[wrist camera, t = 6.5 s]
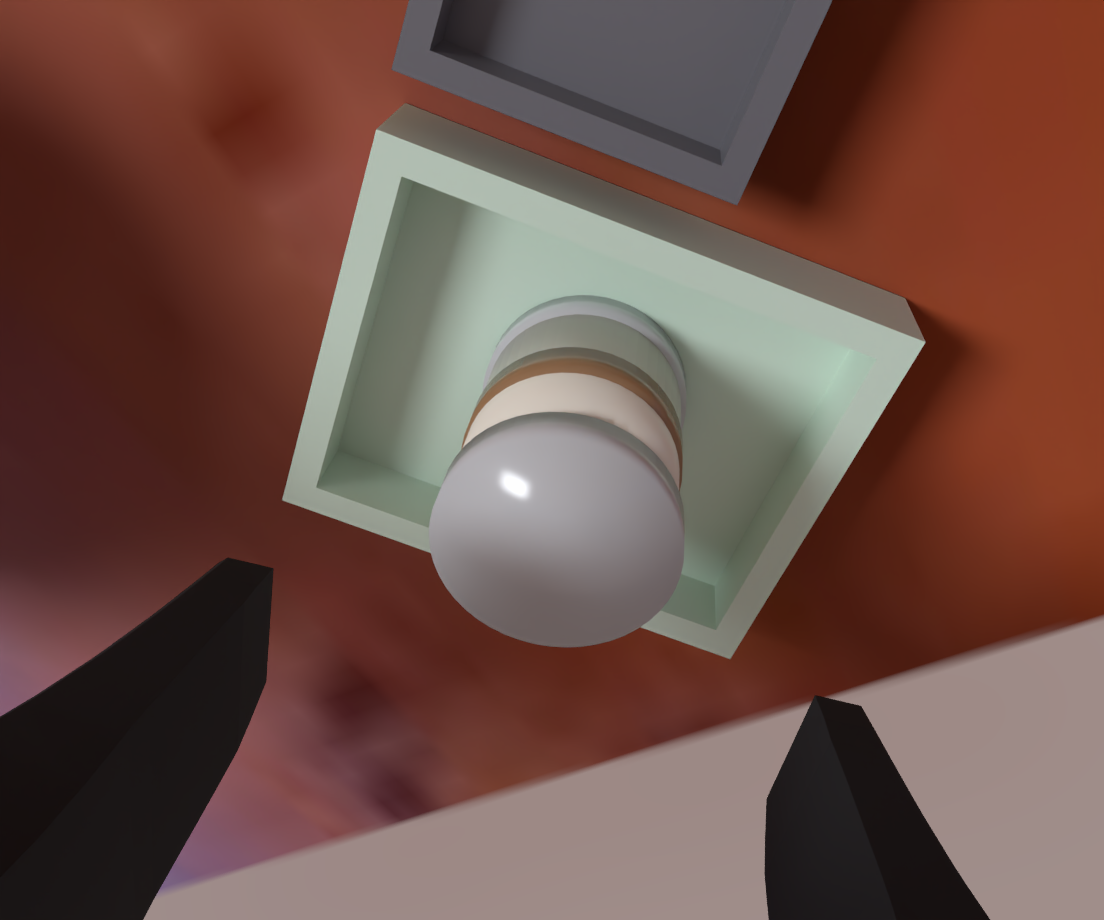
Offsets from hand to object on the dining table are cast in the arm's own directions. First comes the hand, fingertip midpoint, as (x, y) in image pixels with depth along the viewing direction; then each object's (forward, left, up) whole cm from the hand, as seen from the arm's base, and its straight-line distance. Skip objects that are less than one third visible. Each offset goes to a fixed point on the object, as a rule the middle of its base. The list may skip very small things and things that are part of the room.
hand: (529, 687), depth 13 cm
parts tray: (0, 0, -9) cm, 9 cm away
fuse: (0, 0, -9) cm, 9 cm away
